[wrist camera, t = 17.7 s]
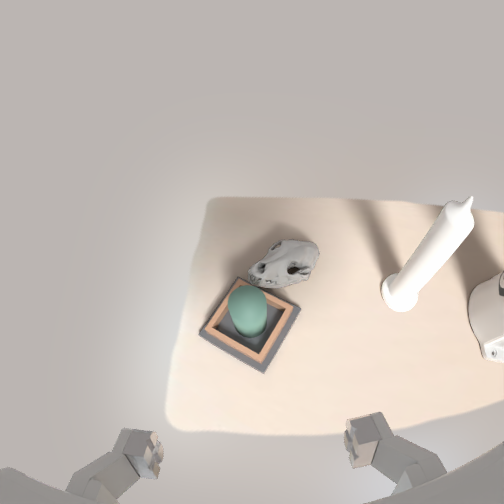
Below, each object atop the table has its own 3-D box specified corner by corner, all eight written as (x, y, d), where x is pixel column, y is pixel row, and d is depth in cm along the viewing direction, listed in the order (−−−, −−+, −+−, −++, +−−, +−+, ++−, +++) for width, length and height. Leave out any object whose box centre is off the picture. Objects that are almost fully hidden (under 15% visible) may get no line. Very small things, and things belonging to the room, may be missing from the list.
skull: (334, 262, 47) (294, 266, 38) (299, 294, 51) (255, 304, 42) (307, 227, 50) (263, 222, 41) (276, 260, 55) (229, 262, 46)
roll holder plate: (300, 310, 46) (302, 303, 43) (264, 373, 41) (263, 371, 38) (238, 279, 49) (236, 270, 47) (199, 336, 44) (195, 331, 42)
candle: (373, 288, 47) (435, 185, 25) (399, 268, 48) (462, 166, 27) (398, 320, 43) (482, 233, 22) (423, 297, 45) (503, 207, 24)
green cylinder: (273, 317, 44) (273, 296, 38) (255, 344, 42) (253, 328, 36) (245, 301, 46) (241, 278, 39) (227, 327, 44) (220, 308, 37)
